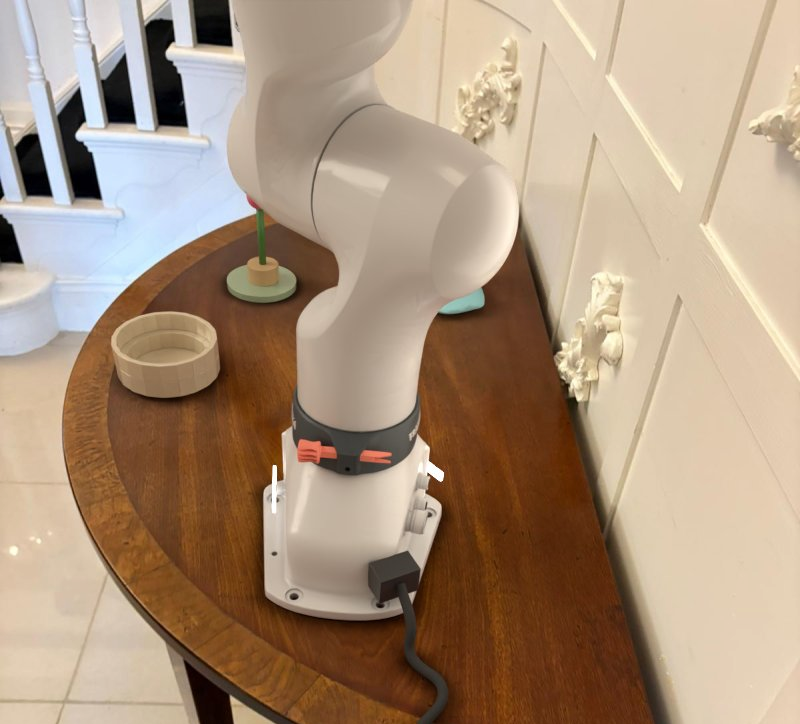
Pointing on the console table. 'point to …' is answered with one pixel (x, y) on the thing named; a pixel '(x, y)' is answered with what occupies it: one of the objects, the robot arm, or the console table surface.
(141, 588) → the console table surface
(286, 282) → the coaster
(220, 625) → the console table surface
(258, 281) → the tulip
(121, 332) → the bowl
